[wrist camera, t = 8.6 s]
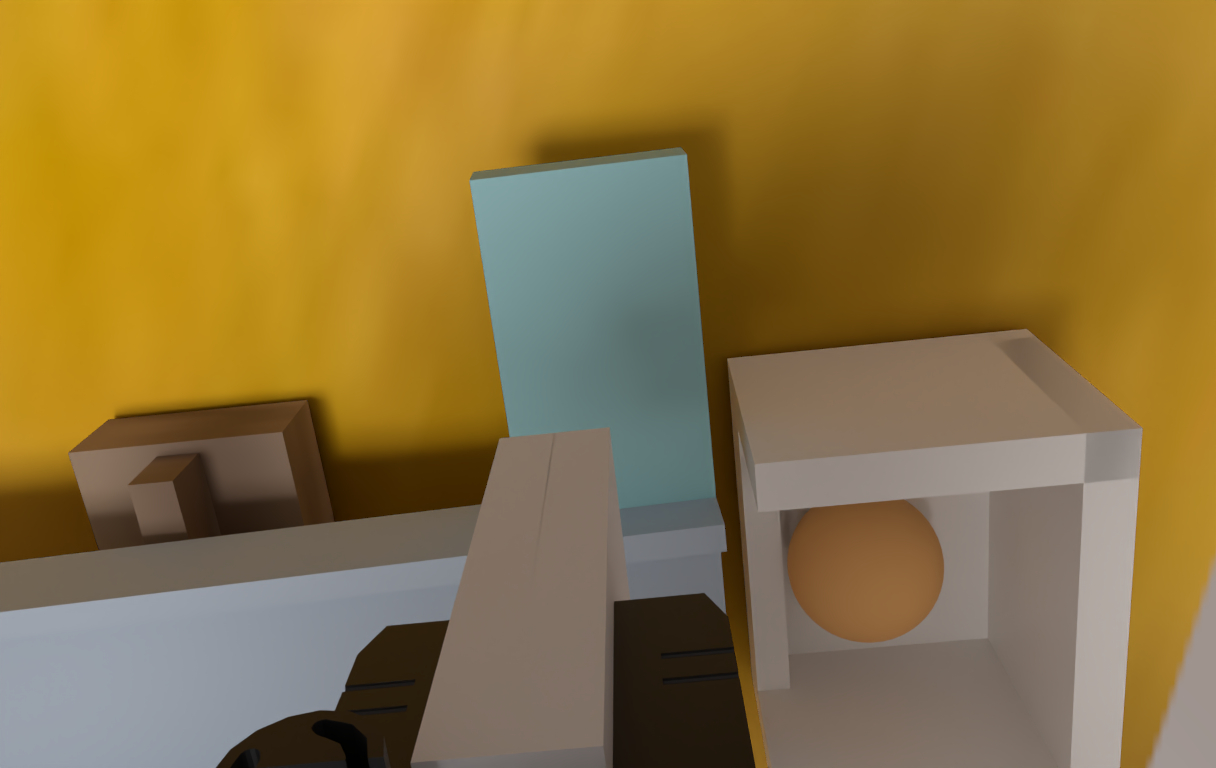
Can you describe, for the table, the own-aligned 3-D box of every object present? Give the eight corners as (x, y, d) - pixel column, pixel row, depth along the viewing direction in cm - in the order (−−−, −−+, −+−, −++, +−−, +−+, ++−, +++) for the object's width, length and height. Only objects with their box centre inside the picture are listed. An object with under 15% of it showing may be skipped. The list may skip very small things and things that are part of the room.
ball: (780, 666, 24) (941, 682, 23) (770, 529, 23) (941, 538, 22) (802, 585, 27) (946, 595, 26) (796, 460, 26) (946, 465, 25)
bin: (752, 675, 28) (781, 845, 23) (727, 358, 25) (754, 464, 20) (1018, 654, 28) (1116, 821, 22) (1026, 328, 25) (1142, 428, 19)
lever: (-292, 832, 25) (-445, 981, 21) (-566, 297, 20) (-822, 364, 17) (729, 708, 25) (760, 835, 21) (681, 147, 20) (708, 181, 17)
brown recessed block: (198, 721, 29) (142, 813, 26) (108, 419, 26) (33, 481, 23) (376, 706, 29) (344, 798, 26) (307, 400, 26) (260, 459, 23)
